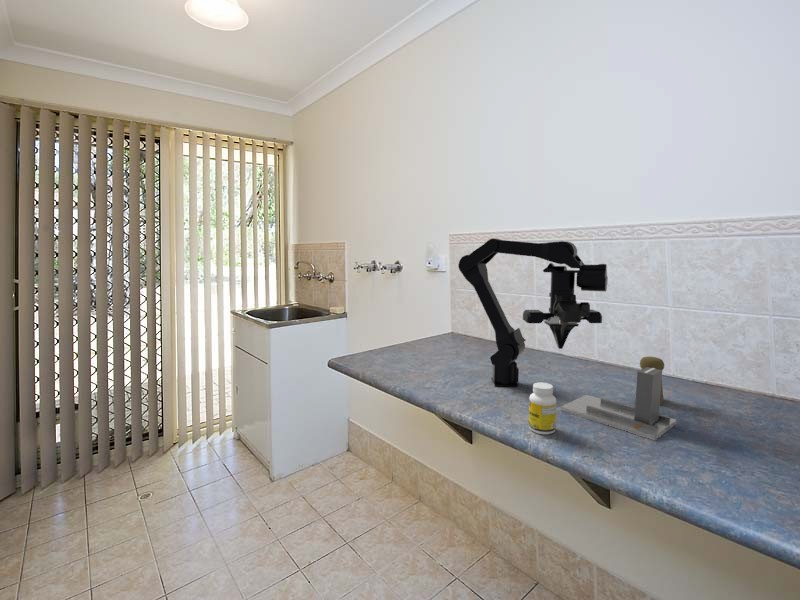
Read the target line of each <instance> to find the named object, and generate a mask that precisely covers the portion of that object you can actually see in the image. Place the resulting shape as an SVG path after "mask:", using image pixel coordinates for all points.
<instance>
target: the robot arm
mask: <svg viewBox="0 0 800 600" xmlns="http://www.w3.org/2000/svg"><path fill="white" fill-rule="evenodd" d="M497 254H506V255H507V254H508V255H516V256H526V257H535V258H539V259H541V260H544V261H547V262H550V263H549V264H548V265H547V267H545V268H544V269H542V272H543V273H550V292H549V295H548V296H549V297H550V299H549V307H548V312H544V311H541V310H540V309H525V310H524V311H523V312H522V320H523V321H524V322H525V323H527V324H542V323H543V322H544V324H546V325H547V326H549V329H550V330H551V333H552V335H553V338H554V341H555V342H556V343H555V344H556V346H557V349H559V350H560V349H561V350H562V349H563V347H564V345H565V343H566V341H567V339H568V337H569V335H570V333H571V331H572V330H573V329H574V328H575V327H579V323H581V321H582V320H583V321H584V320H585V321H587V322H588V323H589V324H602V323H603V315H602V313H601V312H600V311H598V310H595V309H591V305H590V303H589V302H585V301H584V302H577V297H576V294H575V283H576V287H578V288H580V290H581V291H584V292H585V291H586V292H605V293H606V292H607V289H608V272H607V271H608V270H607V266H608V264H606V263H599V264H585V263H584V262H583V260H582V259H581V257H580V256H579V255H578V249H577V246H576V245H575V244H574V243H573V242H571V241H564V240H559V241H551V242H550V241H549V242H538V243H537V242H529V241H518V240H517V241H515V240H505V239H500V238H489V239H488V240H486V241H485V243H484V244H482V245H480V246H479V247H477V248H476V249H475V250H473V251H472V252H471V253H469V254H466V255H463V256H462V257H460V259H459V262H458V266H457V267H458V270H459V271H460V272H461V274H462V276H463V277H464V279H465V280H466V281H467V282H468V283H469V284H470V285H471V286H472V287H473V289H474V291H475V292H476V293H475V294H477V297H478V298H479V301H480V303H481V305H482V307H483V309H484V312H485V314H486V315H487V317H488V320H489V322H490V324H491V327H492V328H493V330H494V334H495V344H496V347H497V350H496V352H495V353H493V354H492V355H491V356H490V358H489V359H490V362H491V365H492V376H491V378H490V380H491V382H492V384H493V385H494V386H495V387H519V386H518V385H519V384H518V383H519V375H520V374H519V367H518V364H517V362H516V361H517V360H518V358H519V357H520V356H521V355H522V354H523V353H524V352H525V350H526V344H525V342H526V341H527V340H526V339H525V337H524V336H523V334H522V331H521V329H520V328H519V327H518V328H516V329H514V327H512V325H511V324H510V323H509V321H508V318H507V316H506V314H505V312H504V310H503V307H502V306H501V304H500V301H499V299H498V298H497V296H496V294H495V291H494V289H493V288H492V285H491V283H490V281H489V275H488V268H487V264H488V263H489V262H491V261H492V259H493V258H495V256H496V255H497ZM554 263H555V264H557V265H555V264H554ZM558 264H559V265H558ZM568 268H570V269H568ZM577 269H578V270H577ZM575 279H576V280H575ZM575 281H576V282H575Z"/></svg>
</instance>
